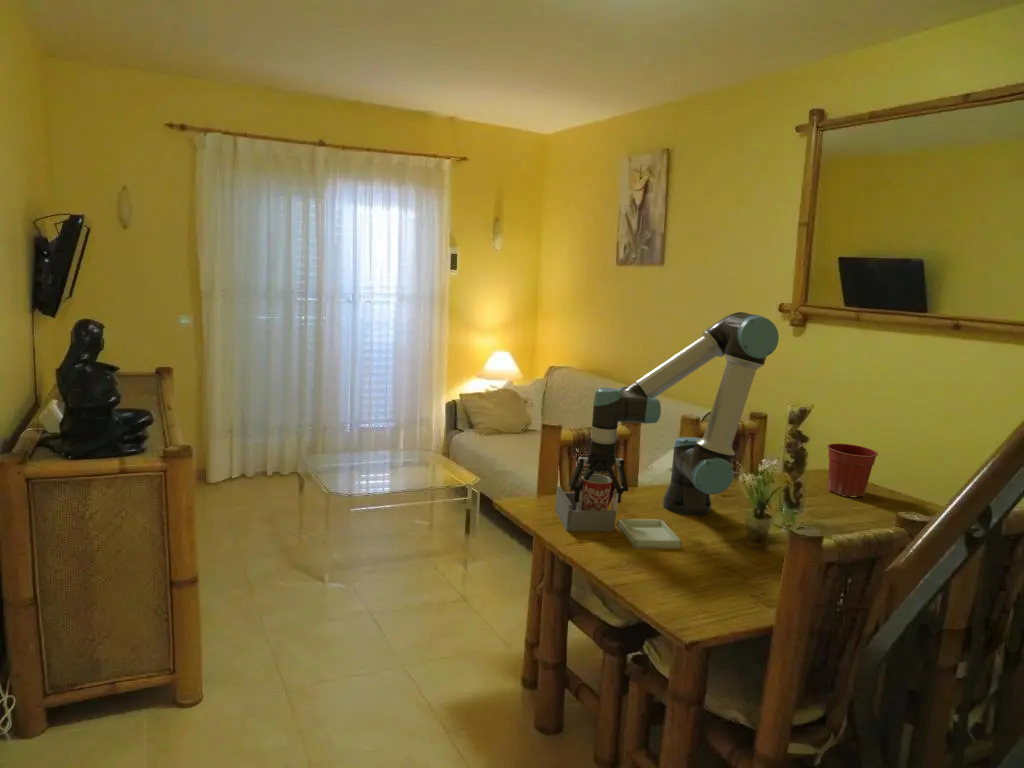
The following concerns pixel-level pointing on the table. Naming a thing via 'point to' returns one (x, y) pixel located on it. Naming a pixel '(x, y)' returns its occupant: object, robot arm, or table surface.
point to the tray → (649, 533)
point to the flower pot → (849, 469)
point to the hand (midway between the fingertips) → (596, 512)
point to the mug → (597, 492)
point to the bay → (582, 515)
